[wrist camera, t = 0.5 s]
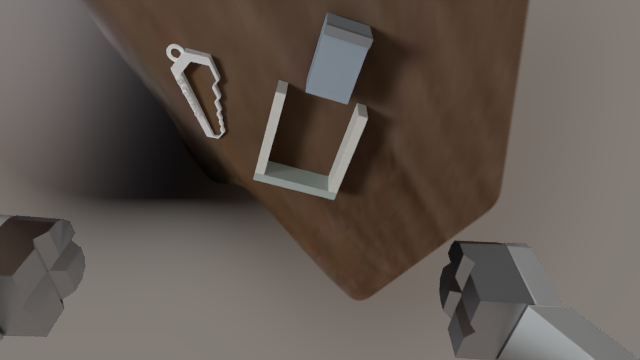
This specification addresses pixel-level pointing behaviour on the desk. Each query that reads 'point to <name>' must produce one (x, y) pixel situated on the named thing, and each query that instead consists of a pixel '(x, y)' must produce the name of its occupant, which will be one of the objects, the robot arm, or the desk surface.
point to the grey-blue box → (338, 58)
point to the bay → (303, 178)
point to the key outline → (182, 81)
